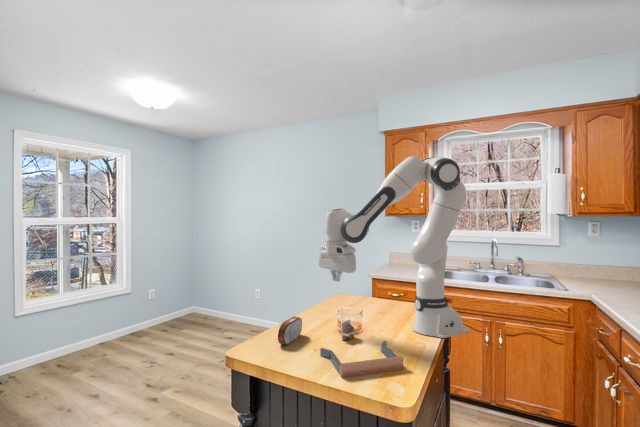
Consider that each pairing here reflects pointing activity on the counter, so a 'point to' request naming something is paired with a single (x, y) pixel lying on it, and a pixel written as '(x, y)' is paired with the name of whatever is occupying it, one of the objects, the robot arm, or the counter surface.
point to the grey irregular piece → (347, 330)
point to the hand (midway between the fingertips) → (336, 280)
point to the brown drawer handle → (365, 363)
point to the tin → (290, 330)
